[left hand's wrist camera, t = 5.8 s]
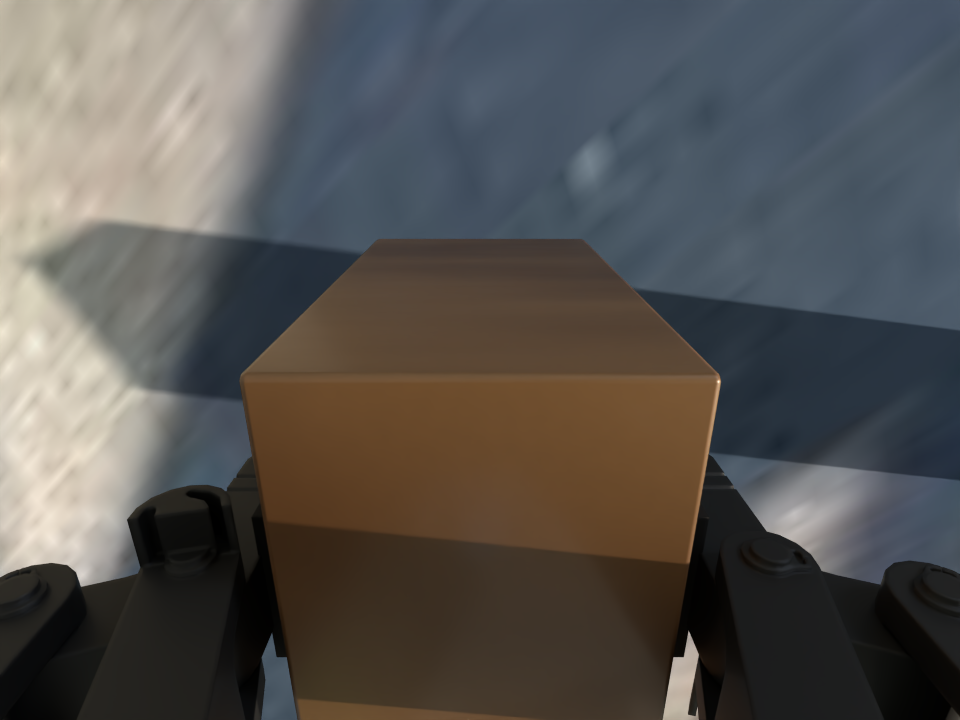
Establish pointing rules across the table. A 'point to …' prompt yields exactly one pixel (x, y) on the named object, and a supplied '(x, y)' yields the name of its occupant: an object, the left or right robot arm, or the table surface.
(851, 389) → the table surface
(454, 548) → the post
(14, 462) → the table surface
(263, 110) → the table surface
